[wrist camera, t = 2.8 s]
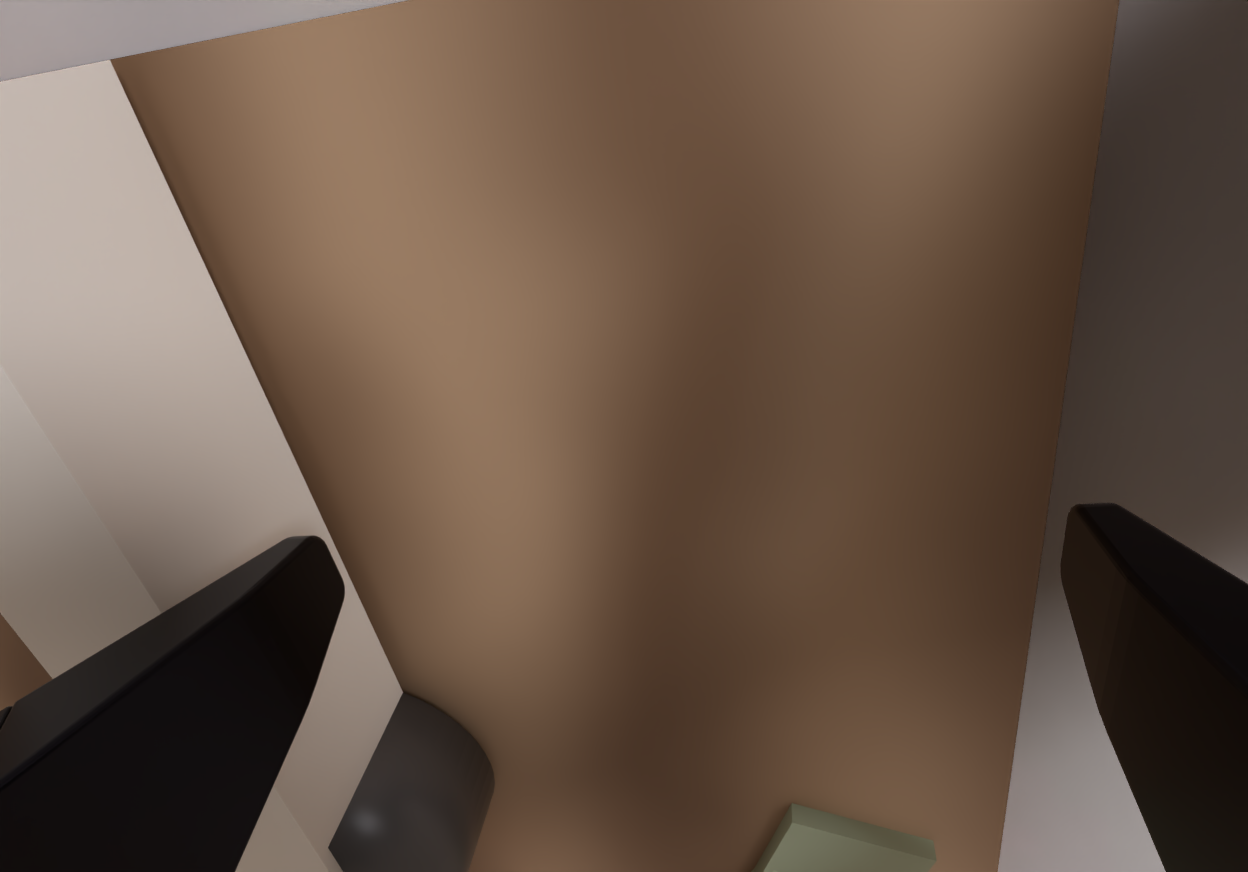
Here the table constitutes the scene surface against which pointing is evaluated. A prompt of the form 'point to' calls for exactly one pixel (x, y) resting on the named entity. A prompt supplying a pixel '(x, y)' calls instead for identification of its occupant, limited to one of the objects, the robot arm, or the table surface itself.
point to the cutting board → (669, 390)
